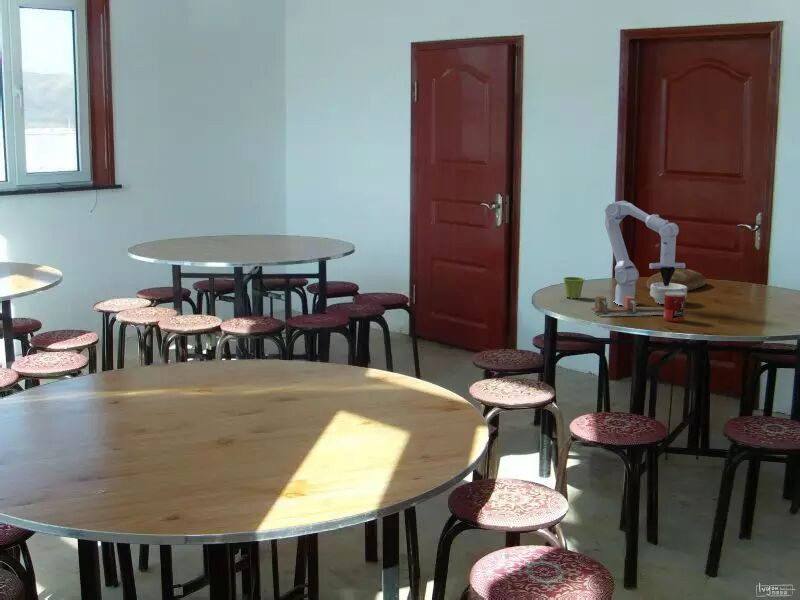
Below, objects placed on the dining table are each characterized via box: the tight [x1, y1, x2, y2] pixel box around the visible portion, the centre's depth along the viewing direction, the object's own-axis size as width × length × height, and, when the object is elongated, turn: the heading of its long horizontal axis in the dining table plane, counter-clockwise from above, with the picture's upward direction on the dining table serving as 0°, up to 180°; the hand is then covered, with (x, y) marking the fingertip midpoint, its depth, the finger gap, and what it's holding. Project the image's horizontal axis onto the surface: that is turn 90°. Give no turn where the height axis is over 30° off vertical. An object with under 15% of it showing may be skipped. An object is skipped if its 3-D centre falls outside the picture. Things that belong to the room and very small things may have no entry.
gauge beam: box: [591, 295, 664, 312], centre depth 404 cm, size 10×30×6 cm, turn 96°
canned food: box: [663, 291, 686, 323], centre depth 390 cm, size 8×8×11 cm
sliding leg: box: [622, 296, 637, 312], centre depth 404 cm, size 10×3×5 cm, turn 6°
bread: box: [646, 268, 707, 292], centre depth 465 cm, size 22×37×8 cm, turn 137°
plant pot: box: [562, 276, 585, 299], centre depth 437 cm, size 9×9×9 cm
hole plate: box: [595, 311, 664, 317], centre depth 401 cm, size 6×30×1 cm, turn 96°
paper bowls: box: [649, 283, 688, 305], centre depth 425 cm, size 15×15×8 cm
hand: (666, 285), depth 409 cm, fingers closed
